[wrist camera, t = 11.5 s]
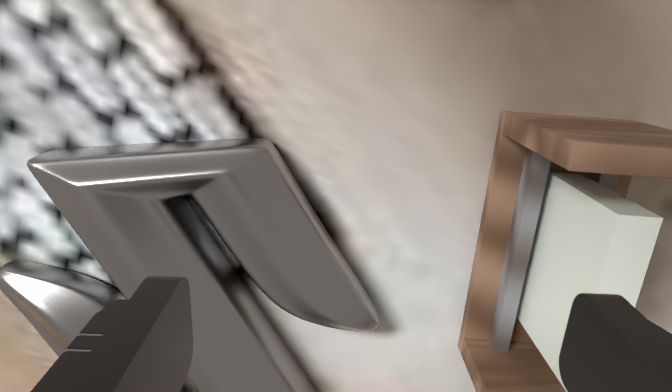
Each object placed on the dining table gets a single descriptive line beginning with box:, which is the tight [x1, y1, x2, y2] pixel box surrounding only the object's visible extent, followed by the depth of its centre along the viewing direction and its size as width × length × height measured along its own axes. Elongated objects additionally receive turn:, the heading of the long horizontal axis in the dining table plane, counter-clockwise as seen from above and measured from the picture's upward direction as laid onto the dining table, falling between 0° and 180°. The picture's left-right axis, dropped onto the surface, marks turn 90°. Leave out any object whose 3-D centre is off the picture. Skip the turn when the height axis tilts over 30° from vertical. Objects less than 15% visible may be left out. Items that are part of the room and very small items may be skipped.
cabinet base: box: [458, 111, 672, 392], centre depth 32 cm, size 20×10×11 cm, turn 176°
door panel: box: [516, 172, 663, 392], centre depth 32 cm, size 12×3×9 cm, turn 175°
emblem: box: [0, 138, 380, 392], centre depth 36 cm, size 28×5×28 cm
